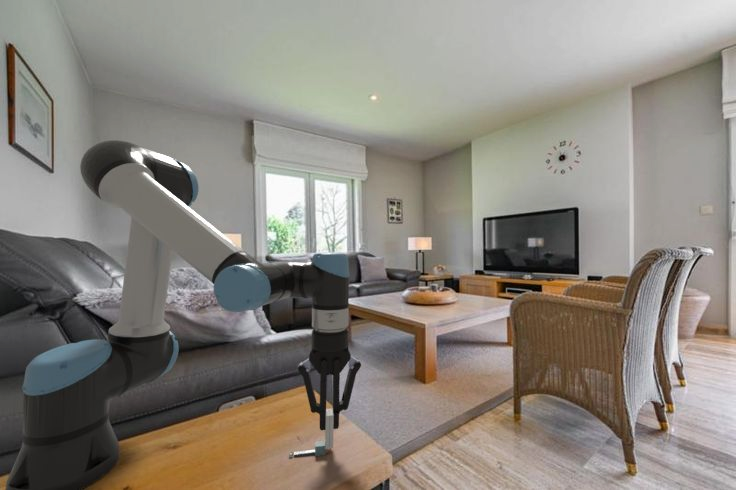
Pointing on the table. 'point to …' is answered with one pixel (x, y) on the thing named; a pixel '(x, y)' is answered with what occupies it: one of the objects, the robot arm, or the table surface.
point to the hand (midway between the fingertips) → (328, 444)
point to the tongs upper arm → (307, 453)
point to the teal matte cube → (319, 448)
